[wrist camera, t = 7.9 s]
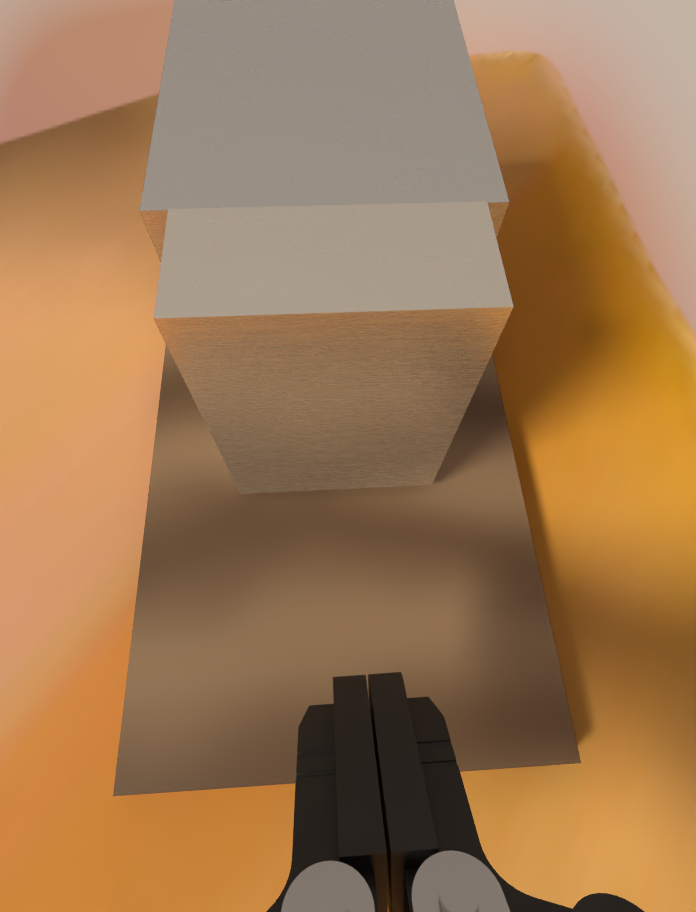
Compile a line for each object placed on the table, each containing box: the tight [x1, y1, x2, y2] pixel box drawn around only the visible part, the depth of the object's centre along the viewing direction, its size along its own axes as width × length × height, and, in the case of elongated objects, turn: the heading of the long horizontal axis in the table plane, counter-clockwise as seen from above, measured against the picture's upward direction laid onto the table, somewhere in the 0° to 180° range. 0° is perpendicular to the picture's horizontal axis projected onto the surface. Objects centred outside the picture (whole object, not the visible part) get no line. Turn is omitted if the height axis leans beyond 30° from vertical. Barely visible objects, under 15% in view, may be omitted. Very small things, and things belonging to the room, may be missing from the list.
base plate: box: [113, 345, 581, 796], centre depth 21 cm, size 27×14×1 cm, turn 3°
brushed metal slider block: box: [154, 201, 514, 494], centre depth 18 cm, size 21×7×10 cm, turn 3°
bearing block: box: [140, 0, 509, 262], centre depth 20 cm, size 11×10×8 cm
